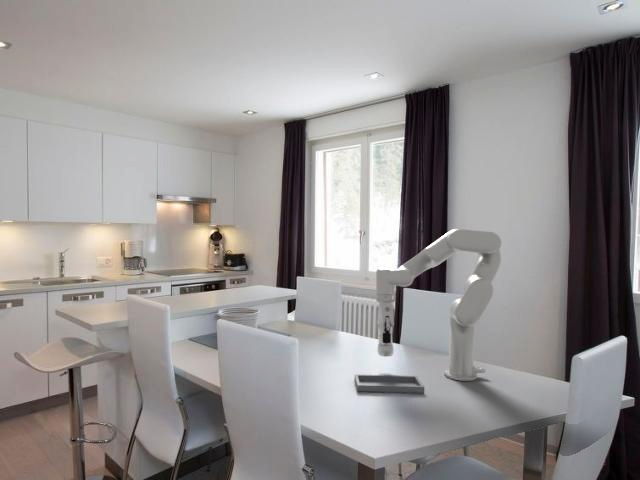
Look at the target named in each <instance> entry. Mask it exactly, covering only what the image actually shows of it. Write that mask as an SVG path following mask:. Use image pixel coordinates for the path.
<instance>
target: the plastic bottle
mask: <svg viewBox="0 0 640 480" xmlns="http://www.w3.org/2000/svg"><path fill="white" fill-rule="evenodd" d="M376 322H377V328H378V329H377V330H378V344H377V354H378V355H379V356H380V357H385V358H386V357H392V356H393V355H394V352H395V348H394V345H393V343H394V342H393V328H394V327H393V326H392V325H391V323H390V333H391V343H383V326H382V325H381V319H380V316H379V315H378V318H377V321H376ZM384 326H386V324H384ZM385 328H386V327H385Z"/></svg>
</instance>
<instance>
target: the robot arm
mask: <svg viewBox="0 0 640 480" xmlns="http://www.w3.org/2000/svg"><path fill="white" fill-rule="evenodd" d="M501 247H502V240H501V237H500V236H499V234H497V233H495V232H492V231H486V230H485V231H483V230H482V231H481V230H472V229H465V228H453V229H451V230H449V231H448V232H446V233H445V234H444V235H442V236H441V237H439V238H438V239H436V240H435V241H434V242H432V243H431V244H430V245H428V246H427V247H425V248H424V249H423V250H421V251H420V252H419V253H417V254H416V255H414V256H413V257H412V258H411V259H409V260H408V261H406V262H404V263H403V264H402V265H401V266H399V267H398V268H396V269H395V268H394V269H393V268H392V267H379V268H378V269H377V270H376V273H375V274H376V275H375V276H376V279H375V281H376V282H375V283H376V284H375V285H376V289H375V290H376V295H375V297H376V298H375V299H376V302H378V317H379V316H380V319H381V325H382V326H383V343H391V333H390V323H391V325H392V326H394V325H395V321H394V319H395V318H394V315H395V314H394V302H395V300H396V297H395V294H396V293H395V292H396V291H395V286H396V287H397V286H398V287H402V288H403V287H409V286H411V285H412V284H413V282H414V279H416V277H418V276H419V275H421V274H422V273H424V272H425V271H426V272H427V270H430V269H431V268H435V267H437V266H439V265H441V264H442V263H443V262H445V261H446V260H448V259H449V258H450V257H452V256H453V255H454V254H456V253H457V252H459V251H461V252H469V253H477V254H478V259H477V260H476V263H475V266H474V268H473V269H472V271H471V273H470V274H469V276H468V277H467V278H466V280H465V283H464V285H463V288H464V293H463V295H462V297H460V298H457V299H456V298H455V299H454V300H453V301H452V303H451V304H450V307H449V345H448V349H449V350H448V368H447V369H445V370H444V376H445V377H447V378H449V379H451V380H456V381H463V382H472V381H475V380H476V379H478V373H479V374H486V368H485V367H483V368H482V367H480V366H474V358H475V357H474V352H475V349H474V348H475V331H476V330H475V325H476V324H477V323H478V322H479V320H480V319H481V318H482V316H483V314H484V312H485V310H486V309H487V307H488V305H489V303H490V302H491V300H492V298H493V295H494V287H493V284H492V283H493V281H494V279H495V277H496V275H497V273H498V270H499V269H500V265H501V259H502V258H501V257H502V255H501V250H500V249H501ZM384 324H386V326H384ZM385 327H386V328H385Z"/></svg>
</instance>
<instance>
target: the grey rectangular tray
mask: <svg viewBox="0 0 640 480" xmlns="http://www.w3.org/2000/svg"><path fill="white" fill-rule="evenodd" d="M354 385H355V388H356V393H364V394H365V393H367V394H368V393H369V394H399V395H401V394H407V395H425V386H424V384H423V383H422V382H421V380H420V379H419V377H418V376H417V375H392V374H391V375H390V374H356V373H355V374H354Z"/></svg>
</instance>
